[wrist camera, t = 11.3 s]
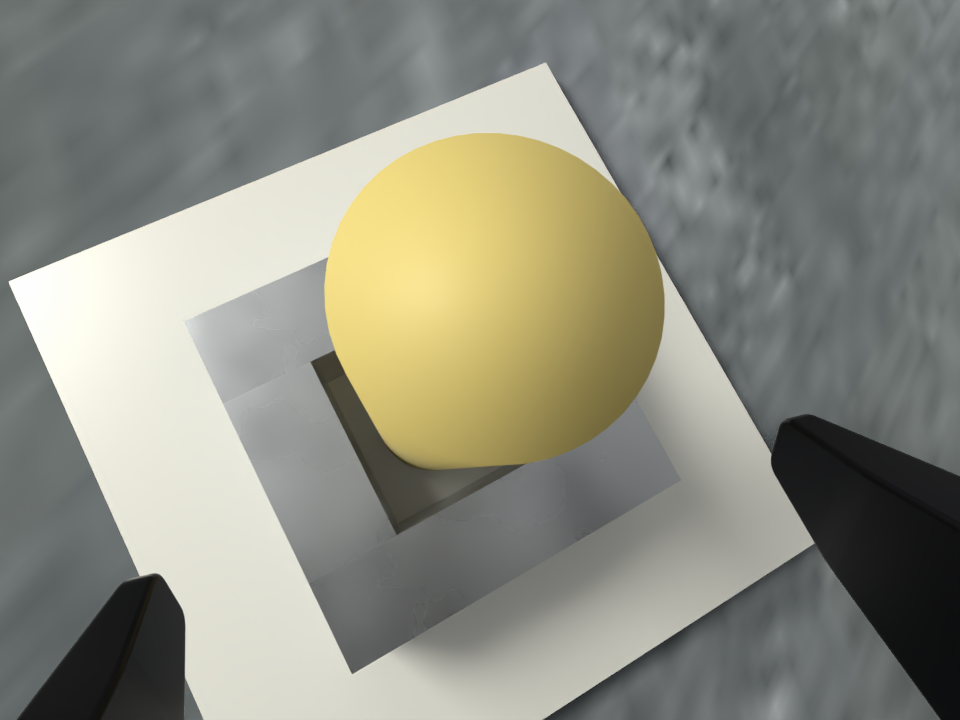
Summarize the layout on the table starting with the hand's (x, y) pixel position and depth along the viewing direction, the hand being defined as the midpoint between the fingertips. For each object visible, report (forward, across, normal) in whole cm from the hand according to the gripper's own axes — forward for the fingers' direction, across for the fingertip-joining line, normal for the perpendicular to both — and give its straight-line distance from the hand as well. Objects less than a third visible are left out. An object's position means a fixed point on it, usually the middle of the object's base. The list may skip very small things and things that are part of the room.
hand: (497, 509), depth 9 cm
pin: (+8, 0, +5) cm, 10 cm away
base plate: (+9, 0, +6) cm, 11 cm away
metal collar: (+9, 0, +6) cm, 11 cm away
